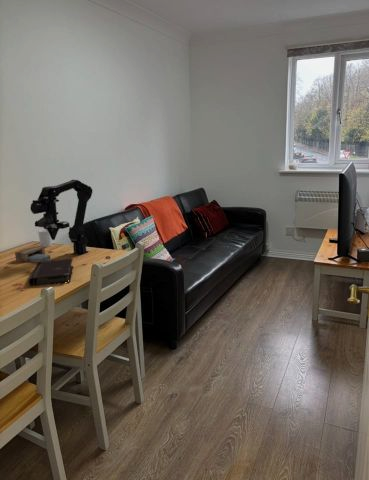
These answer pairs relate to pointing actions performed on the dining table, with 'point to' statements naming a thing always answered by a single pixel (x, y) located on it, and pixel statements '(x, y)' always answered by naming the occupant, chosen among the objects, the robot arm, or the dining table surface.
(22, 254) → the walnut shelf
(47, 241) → the white cup
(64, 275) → the diary
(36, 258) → the slate tile
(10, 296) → the dining table surface
